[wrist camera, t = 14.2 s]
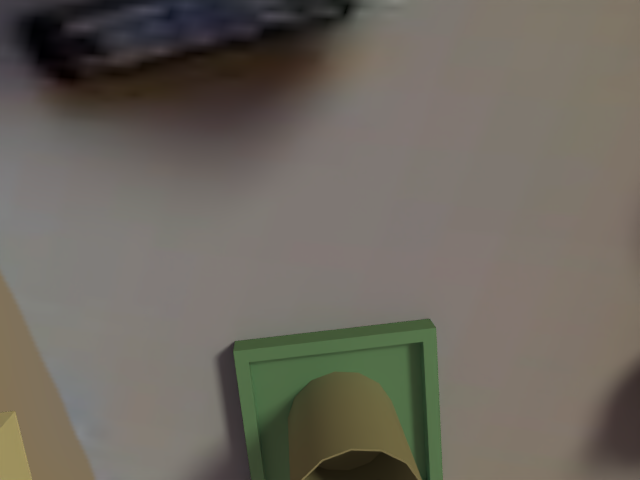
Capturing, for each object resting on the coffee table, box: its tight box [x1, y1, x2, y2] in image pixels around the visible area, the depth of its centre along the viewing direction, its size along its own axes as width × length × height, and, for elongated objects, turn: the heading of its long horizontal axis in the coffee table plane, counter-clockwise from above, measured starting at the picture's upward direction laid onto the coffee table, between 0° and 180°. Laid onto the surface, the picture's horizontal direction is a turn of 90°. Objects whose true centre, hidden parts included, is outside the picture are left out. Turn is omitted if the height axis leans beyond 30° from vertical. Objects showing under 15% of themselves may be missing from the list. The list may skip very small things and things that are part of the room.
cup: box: [288, 372, 422, 480], centre depth 40 cm, size 8×8×10 cm
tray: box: [233, 319, 443, 480], centre depth 45 cm, size 15×15×2 cm
